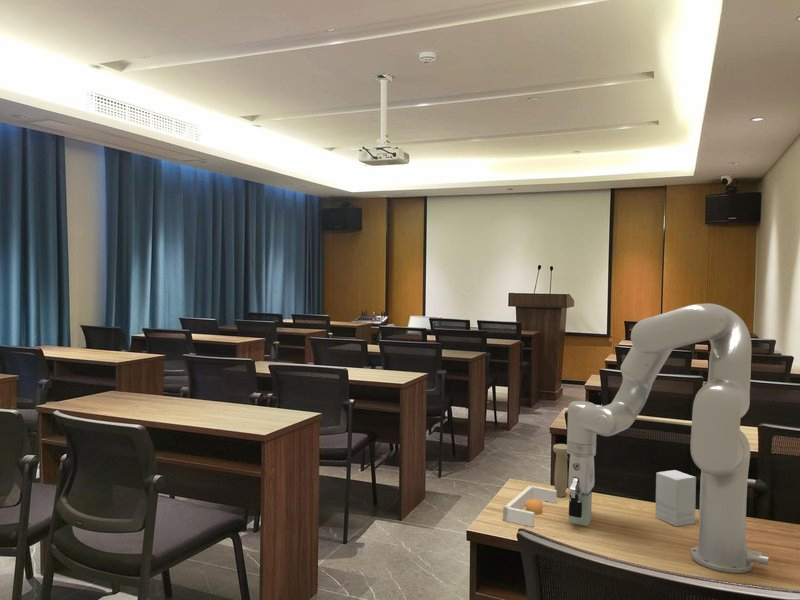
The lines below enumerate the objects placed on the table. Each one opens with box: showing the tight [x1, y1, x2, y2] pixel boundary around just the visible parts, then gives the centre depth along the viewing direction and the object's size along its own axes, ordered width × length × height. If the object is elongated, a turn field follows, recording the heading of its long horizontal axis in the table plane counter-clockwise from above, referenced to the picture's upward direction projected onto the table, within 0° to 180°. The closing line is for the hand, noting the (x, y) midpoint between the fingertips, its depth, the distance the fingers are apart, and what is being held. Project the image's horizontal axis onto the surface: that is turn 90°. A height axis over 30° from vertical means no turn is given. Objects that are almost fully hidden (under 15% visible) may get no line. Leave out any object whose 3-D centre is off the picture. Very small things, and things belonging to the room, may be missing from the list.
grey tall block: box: [568, 489, 593, 526], centre depth 162 cm, size 5×4×8 cm
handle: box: [552, 443, 569, 498], centre depth 182 cm, size 5×6×15 cm
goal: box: [502, 484, 558, 528], centre depth 169 cm, size 8×22×4 cm, turn 150°
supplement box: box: [655, 469, 697, 527], centre depth 164 cm, size 7×7×13 cm
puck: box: [525, 499, 543, 516], centre depth 168 cm, size 4×4×3 cm
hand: (579, 510), depth 162 cm, fingers open, 9 cm apart
